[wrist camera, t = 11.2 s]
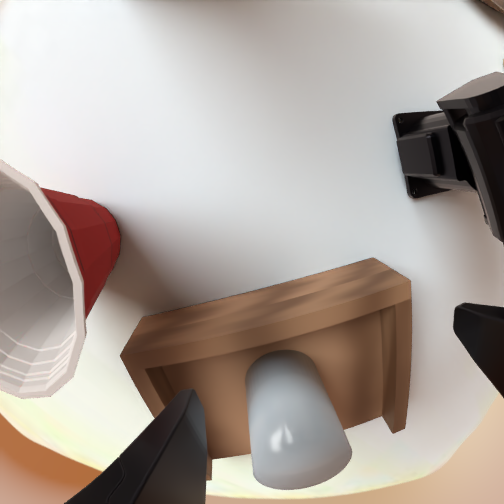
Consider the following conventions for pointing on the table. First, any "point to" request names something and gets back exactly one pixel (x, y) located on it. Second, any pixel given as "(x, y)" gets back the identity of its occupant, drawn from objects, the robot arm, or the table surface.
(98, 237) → the plastic cup
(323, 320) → the wooden tray
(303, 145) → the table surface
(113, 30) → the table surface
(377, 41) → the table surface
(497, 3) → the plant saucer
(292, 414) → the grey rounded cone
